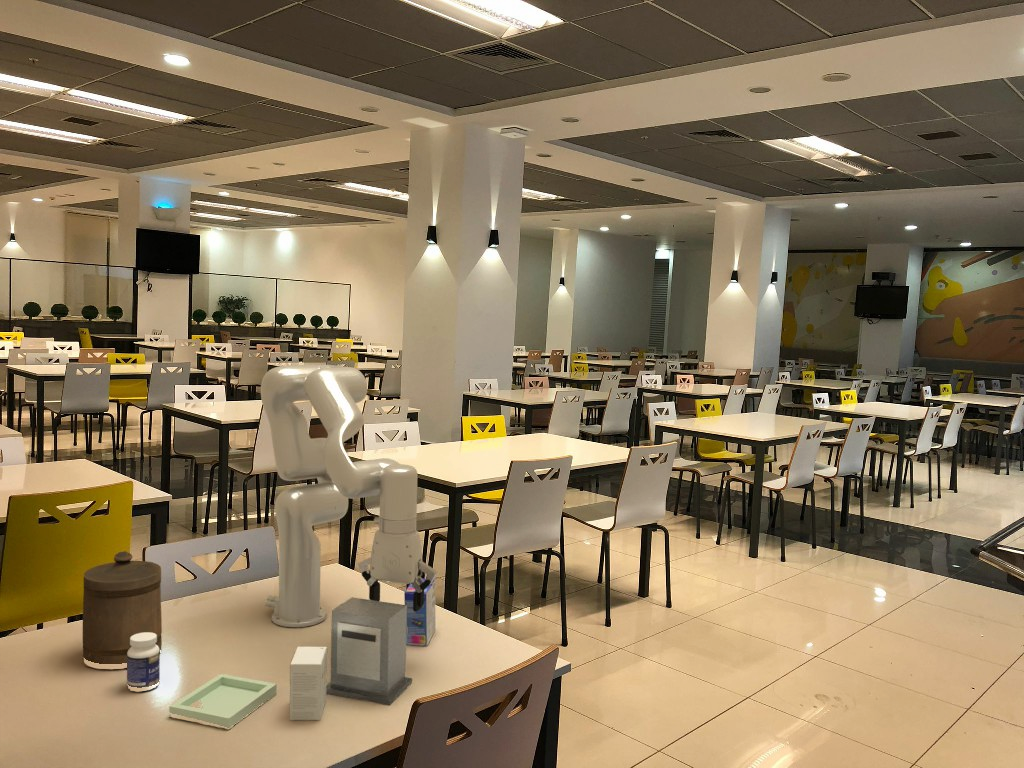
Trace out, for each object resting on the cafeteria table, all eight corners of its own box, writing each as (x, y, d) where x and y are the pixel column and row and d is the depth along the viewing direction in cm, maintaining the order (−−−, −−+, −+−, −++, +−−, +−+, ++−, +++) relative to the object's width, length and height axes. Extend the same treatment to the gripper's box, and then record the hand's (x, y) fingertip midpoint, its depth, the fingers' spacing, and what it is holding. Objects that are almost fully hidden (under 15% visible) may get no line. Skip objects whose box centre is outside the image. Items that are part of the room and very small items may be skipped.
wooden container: (167, 640, 180) (167, 541, 179) (153, 668, 166) (153, 561, 164) (94, 643, 177) (93, 543, 175) (73, 673, 163) (71, 564, 161)
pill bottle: (155, 693, 156) (155, 641, 155) (123, 694, 155) (122, 642, 154) (163, 679, 161) (162, 630, 160) (132, 680, 160) (131, 631, 160)
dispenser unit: (323, 692, 158) (324, 611, 156) (348, 672, 167) (349, 595, 166) (389, 705, 154) (391, 621, 152) (411, 683, 163) (413, 604, 162)
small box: (296, 700, 155) (297, 645, 154) (326, 700, 155) (327, 645, 154) (288, 721, 147) (289, 663, 146) (320, 720, 147) (321, 663, 146)
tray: (169, 717, 146) (169, 706, 146) (220, 684, 160) (220, 673, 160) (229, 730, 143) (229, 718, 143) (276, 694, 156) (276, 683, 156)
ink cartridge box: (412, 628, 192) (413, 567, 190) (435, 630, 191) (437, 569, 190) (402, 645, 182) (404, 580, 181) (427, 646, 181) (428, 582, 180)
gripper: (351, 525, 169) (350, 606, 170) (429, 534, 163) (427, 618, 165) (368, 516, 176) (367, 595, 177) (443, 525, 171) (441, 606, 172)
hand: (396, 606), depth 171 cm, fingers open, 9 cm apart
